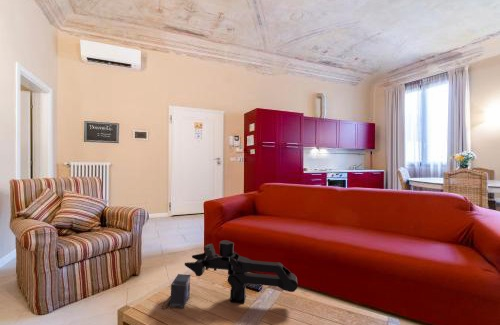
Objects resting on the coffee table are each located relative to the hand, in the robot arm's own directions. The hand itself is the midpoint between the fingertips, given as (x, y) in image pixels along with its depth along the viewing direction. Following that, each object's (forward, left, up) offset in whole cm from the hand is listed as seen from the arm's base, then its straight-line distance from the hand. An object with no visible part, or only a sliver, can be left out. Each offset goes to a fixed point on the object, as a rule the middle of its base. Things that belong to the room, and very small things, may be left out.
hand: (188, 260), depth 123 cm
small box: (+1, +7, -17) cm, 18 cm away
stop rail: (+6, +7, -17) cm, 19 cm away
